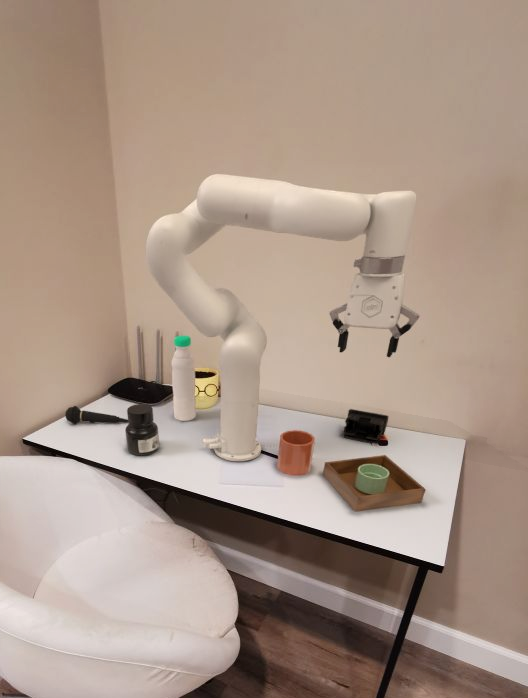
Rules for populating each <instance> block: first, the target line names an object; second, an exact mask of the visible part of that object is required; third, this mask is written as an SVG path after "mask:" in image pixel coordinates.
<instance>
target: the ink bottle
mask: <svg viewBox="0 0 528 698" xmlns="http://www.w3.org/2000/svg"><path fill="white" fill-rule="evenodd" d="M126 413H127V414H126V415H127V420H128V422H127V423H128V424H127V425H126V427H125V440H126V441H125V442H126V449H127V452H129V453H130V454H132V455H134V456H149V455H152V454H154V453H156V452H157V451H158V450H159V448H160V437H159V426H158V424H157V423H156V422H154V408H153V406H152V405H150V404H147V403H137V404H132V405H130V406H129V407H127V409H126Z"/></svg>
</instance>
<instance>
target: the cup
mask: <svg viewBox="0 0 528 698" xmlns="http://www.w3.org/2000/svg"><path fill="white" fill-rule="evenodd" d="M315 442H316V438H315V436H314V435H313V434H311V433H309V432H308V431H304V430H297V429H295V430H287V431H283V432H282V433H281V434H280V435H279V442H278V444H279V445H278V453H277V464H276V467H277V469H278V471H279V472H281V473H283V474H285V475H288V476H295V477H300V476H304V475H307V474H309V472H310V471H311V468H312V462H313V457H314V456H313V455H314V448H315Z"/></svg>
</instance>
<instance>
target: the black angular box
mask: <svg viewBox="0 0 528 698" xmlns="http://www.w3.org/2000/svg"><path fill="white" fill-rule="evenodd" d="M344 422H345V426H344V427H343V433H344V434H343V437H342V438H344V439H347V440H348V439H349V440H353V441H357V442H363V443H367V444H375V445H377V444H379V442H380V440H381V438H383V437H384V435H385V432H386V429H387V426H388V422H389V415H387V414H382V413H375V412H370V411H365V410H364V411H363V410H359V409H354V408H350V409H349V410H348V413H347V416H346V418H345V421H344ZM381 435H383V436H381Z"/></svg>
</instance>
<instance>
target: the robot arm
mask: <svg viewBox="0 0 528 698" xmlns="http://www.w3.org/2000/svg"><path fill="white" fill-rule="evenodd" d="M196 194H197V195H196V198H195V199H194V200H193V201H192V202H191V203H190V204H189V205H187V206H186V207H185V208H183V210H181V211H180V212H178V213H170V214H166V215H163V216H161V217H160V218H158V219H157V220H156V221H154V222H153V224H152V226H151V228H150V229H149V232H148V235H147V238H146V242H145V257H146V258H145V259H146V264H147V266H148V269H149V272H150V274H151V276H152V278H153V280H154V281H155V283H156V284H157V285H158V286H159V288H161V289H162V291H163V292H164V293H165V294H166V295H167V297H169V298H170V299H171V301H172V302H173V303H174V304H175V305H176V307H177V308H178V309H179V310H180V312H182V314H183V315H184V316H185V317H186V318H187V319H188V321H189V322H190V323H191V324H192V325H193V327H194V328H195V329H196V330H197V331H198V332H199V333H200V334H201V335H203V336H205V337H207V338H215V337H220V338H221V339H222V340H223V343H222V344H221V347H220V351H219V360H218V361H219V371H220V373H219V375H220V414H219V416H220V417H219V418H220V421H219V422H220V423H219V424H220V425H219V432H217V433H216V436H213V437H212V438H202V440H201V441H202V446H203V447H208V449H209V450H213V451H214V453H215V455H217V456H218V457H219V458H221V459H222V460H226V461H231V462H247V461H251V460H254V459H256V458H257V457H259V456H261V455H260V454H261V453H262V445H261V443H260V442H258V441H257V433H258V431H257V430H258V417H259V415H258V414H259V404H260V403H259V402H260V386H261V383H260V382H261V362H262V357H263V355H264V353H265V350H266V348H267V344H268V343H267V342H268V338H267V337H268V336H267V333H266V331H265V329H264V327H263V326H262V325H261V323H260V322H259V321H258V319H256V317H255V316H254V315H253V314H252V312H250V310H249V308H247V307H246V305H245V304H244V303H243V302H242V301H241V299H240V298H239V297H238V296H237V295H236V294H235V293H233V292H232V291H231V290H229V289H227V288H223V287H216V288H214V287H213V286H212V285H211V284H210V283H209V281H207V280H206V279H205V277H204V276H203V275H202V274H201V272H200V271H199V270H198V269H197V268H196V267H195V266H193V264H191V263H190V262H189V261H188V259H187V255H190V254H192V253H193V252H195V251H196V250H198V249H200V247H202V246H203V245H204V244H205V243H206V242H208V241H209V240H210V239H211V238H212V237H214V236H216V234H217V233H218V232H220V231H221V230H223V229H224V228H225V227H226V226H231V227H239V228H244V229H245V228H246V229H253V230H258V231H266V232H272V233H276V234H289V235H297V236H301V237H308V238H314V239H320V240H328V241H335V242H348V241H352V240H354V239H356V238H358V237H359V236H361V235H365V242H364V246H363V247H364V248H363V252H362V253H363V254H362V256H361V257H360V258H359V259H354V261H353V268H357V269H359V272H358V273H355V275H354V277H353V280H352V283H351V287H350V291H349V295H348V298H347V302H346V303H344V304H342V305H340V306H338V307H335V308H333V309H331V310H330V311H329V317H330V319H331V321H332V325H333V326H334V328H335V329H336V330H337V333H338V334H339V335H338V340H337V348H339V353H344V351H345V350H347V347H348V339H349V333H350V332H349V330H348V329H349V328H350V327H351V328H362V329H363V328H364V329H375V330H376V329H377V330H378V329H379V330H389V332H390V333H391V337H390V338H389V342H388V347H387V348H388V349H387V352H386V358H391V357H392V355H393V354H395V353H397V350H398V346H399V342H400V341H399V340H400V337H402V336H403V335H405V334H406V333H407V332H409V331H410V330H411V329H412V327H414V325H415V324H416V323H417V321H418V320H419V319H420V317H421V316H420V314H419V313H417V312H416V311H414V310H412V309H410V308H409V307H407V306H406V305H404V304H403V301H404V295H405V284H406V283H405V282H406V275H405V273H404V272H403V267H404V262H405V258H406V253H407V249H408V243H409V239H410V234H411V229H412V225H413V220H414V215H415V211H416V207H417V200H418V196H417V194H416V192H414V191H413V190H392V191H383V192H379V193H376V194H369V193H358V192H352V191H351V192H349V191H340V190H331V189H324V188H316V187H307V186H301V185H296V184H293V183H291V182H288V181H284V180H279V179H278V180H277V179H269V178H259V177H250V176H243V175H233V174H227V173H226V174H225V173H215V174H211V175H209V176H208V177H206V178H205V179H203V181H202V182H201V184H200V185H199V187H198V190H197V193H196ZM343 312H345V314H344V320H343V321H344V323H343V321H342V320H341V319H340V317H339V314H341V313H343ZM401 315H403V316H404V317H406V318H408V321H407V322H406V323H405V324H404V325H403V326H401V327H400V325H399V323H398V322H399V321H400V318H401Z"/></svg>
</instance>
